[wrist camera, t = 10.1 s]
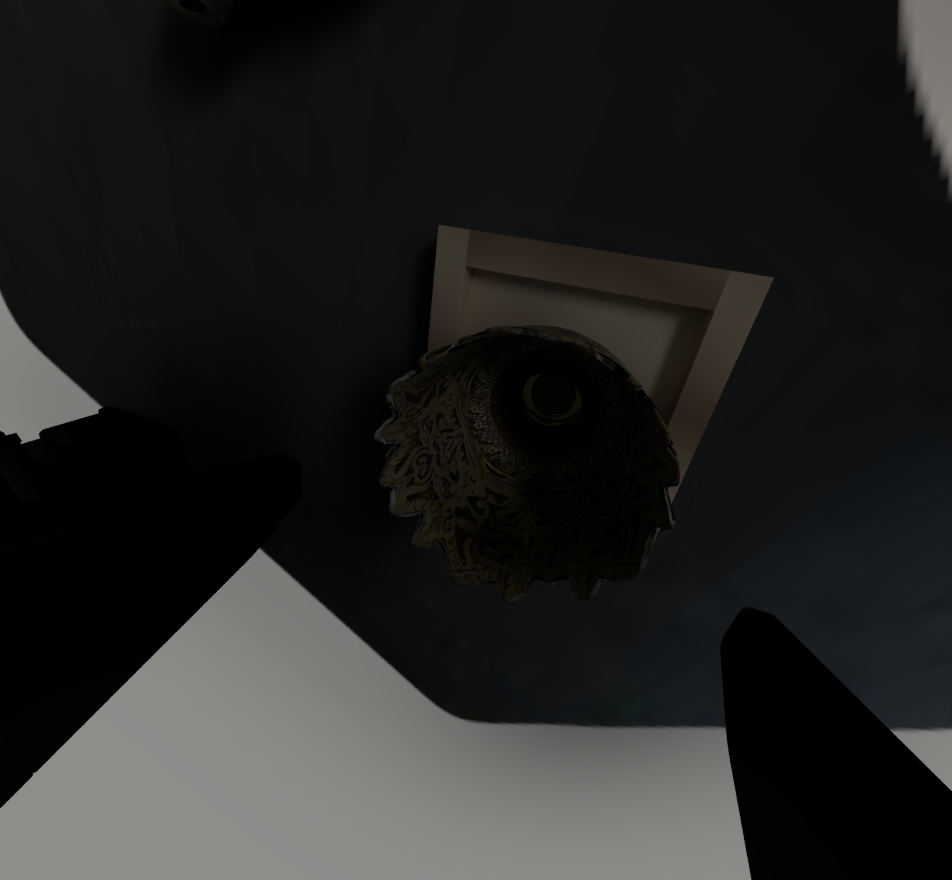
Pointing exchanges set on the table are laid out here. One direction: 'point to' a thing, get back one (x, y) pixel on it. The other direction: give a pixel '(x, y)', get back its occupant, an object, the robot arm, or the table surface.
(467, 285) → the birch stand
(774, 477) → the table surface
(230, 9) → the decorative bird
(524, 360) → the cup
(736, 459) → the table surface
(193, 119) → the table surface
